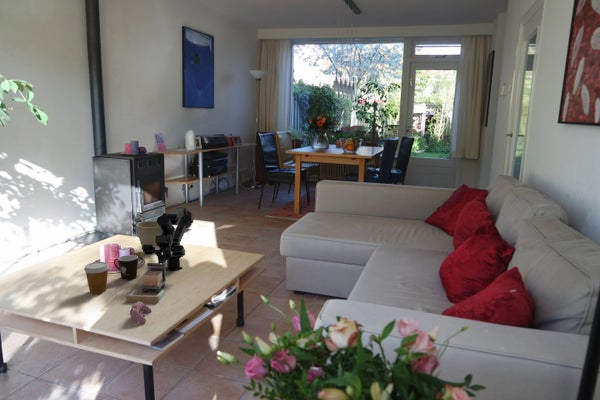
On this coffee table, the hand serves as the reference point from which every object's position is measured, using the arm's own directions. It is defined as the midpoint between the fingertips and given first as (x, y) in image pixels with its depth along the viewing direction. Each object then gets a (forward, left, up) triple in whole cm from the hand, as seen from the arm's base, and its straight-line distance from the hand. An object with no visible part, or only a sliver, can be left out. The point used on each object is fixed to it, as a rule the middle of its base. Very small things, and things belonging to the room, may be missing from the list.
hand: (159, 266), depth 197 cm
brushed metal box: (+6, -7, -7) cm, 11 cm away
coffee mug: (-17, -7, -8) cm, 20 cm away
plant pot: (-45, +22, -8) cm, 51 cm away
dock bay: (+11, -13, -8) cm, 19 cm away
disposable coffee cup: (-10, -24, -8) cm, 27 cm away
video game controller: (+26, -24, -8) cm, 36 cm away
